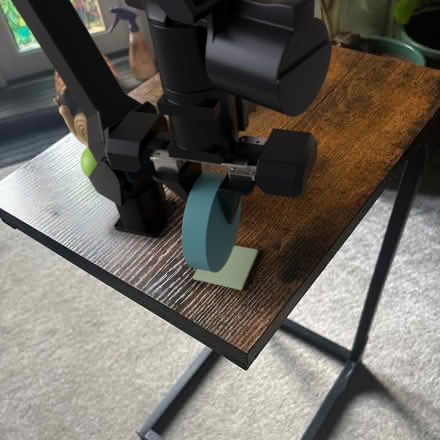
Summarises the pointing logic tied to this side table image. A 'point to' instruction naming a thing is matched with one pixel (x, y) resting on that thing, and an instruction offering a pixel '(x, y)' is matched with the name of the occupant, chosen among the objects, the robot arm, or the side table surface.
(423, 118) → the side table surface
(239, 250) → the felt pad
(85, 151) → the snail figurine
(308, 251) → the side table surface
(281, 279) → the side table surface
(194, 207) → the disc
